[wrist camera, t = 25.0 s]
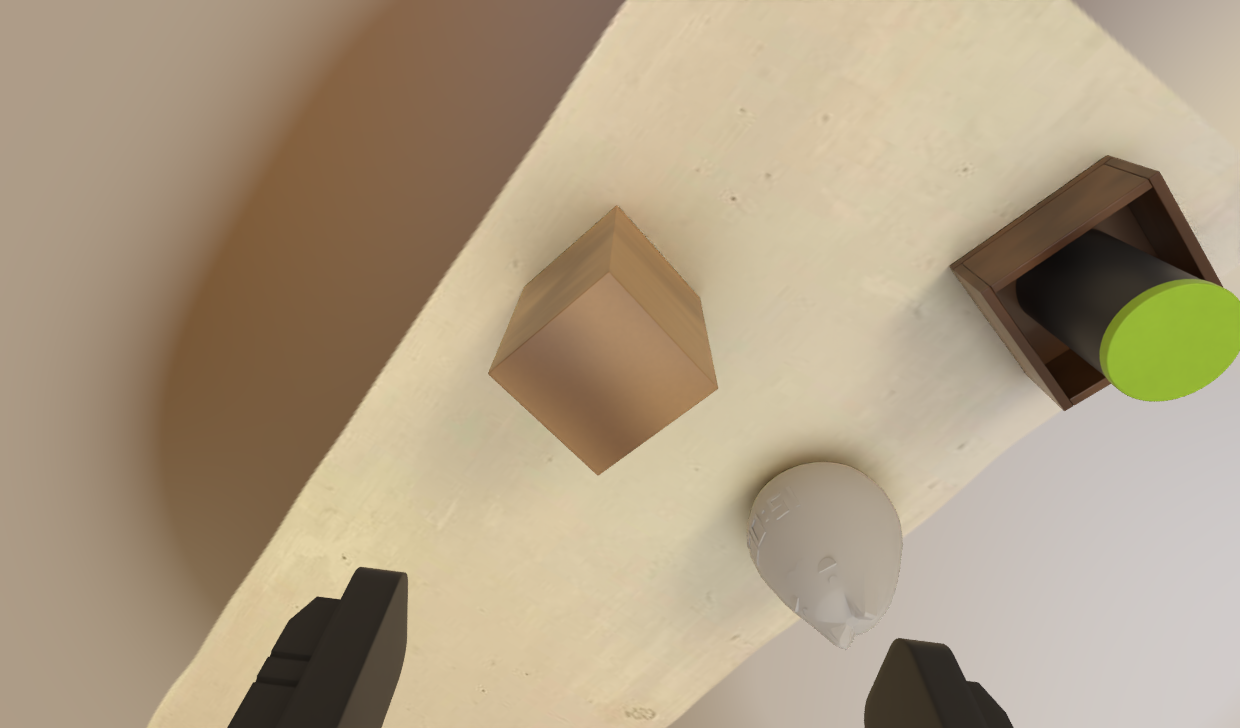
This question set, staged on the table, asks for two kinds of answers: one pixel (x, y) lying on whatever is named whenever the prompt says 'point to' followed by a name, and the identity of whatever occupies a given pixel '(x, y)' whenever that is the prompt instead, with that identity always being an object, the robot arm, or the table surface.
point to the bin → (1093, 200)
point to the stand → (606, 345)
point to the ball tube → (1134, 316)
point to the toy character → (828, 547)
